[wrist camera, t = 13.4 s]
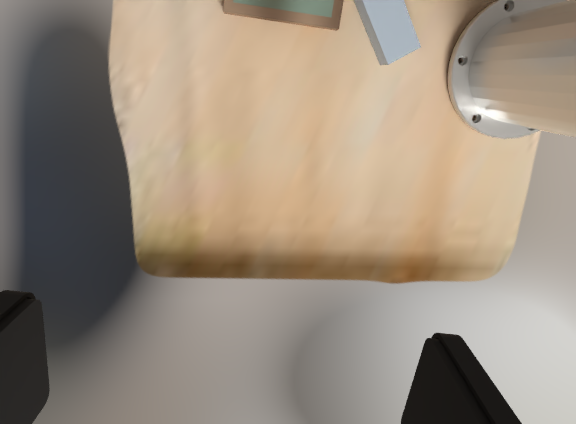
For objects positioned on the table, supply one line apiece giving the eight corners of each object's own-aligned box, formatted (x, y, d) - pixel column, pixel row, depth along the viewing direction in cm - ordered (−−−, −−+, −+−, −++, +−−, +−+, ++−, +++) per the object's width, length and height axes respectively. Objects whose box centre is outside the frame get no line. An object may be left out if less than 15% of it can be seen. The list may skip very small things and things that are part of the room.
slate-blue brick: (353, 0, 34) (360, -6, 31) (384, -18, 34) (394, -26, 31) (379, 65, 36) (388, 64, 33) (409, 48, 36) (420, 47, 33)
